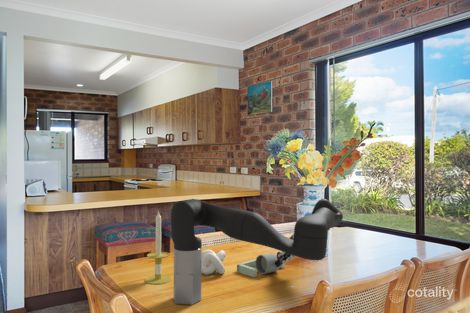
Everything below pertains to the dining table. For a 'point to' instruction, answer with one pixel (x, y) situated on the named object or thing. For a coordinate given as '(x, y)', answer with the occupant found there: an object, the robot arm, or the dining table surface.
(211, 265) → the white knot sculpture
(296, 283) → the dining table surface
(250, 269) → the u-shaped bracket
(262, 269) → the ceramic mug
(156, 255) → the candle
